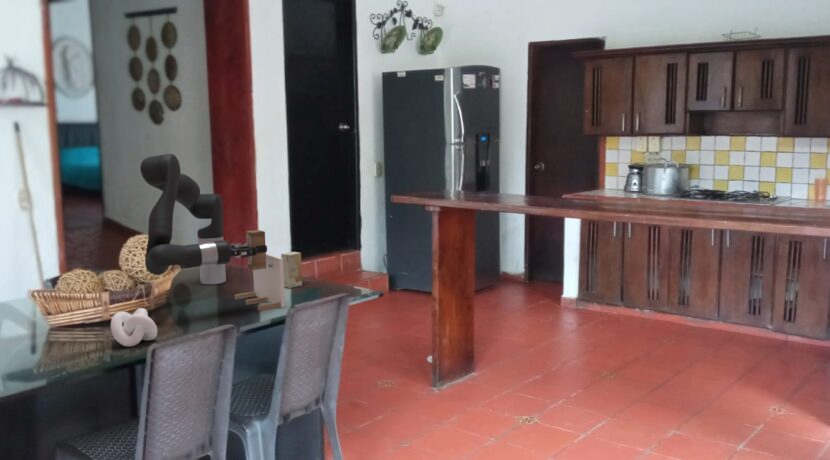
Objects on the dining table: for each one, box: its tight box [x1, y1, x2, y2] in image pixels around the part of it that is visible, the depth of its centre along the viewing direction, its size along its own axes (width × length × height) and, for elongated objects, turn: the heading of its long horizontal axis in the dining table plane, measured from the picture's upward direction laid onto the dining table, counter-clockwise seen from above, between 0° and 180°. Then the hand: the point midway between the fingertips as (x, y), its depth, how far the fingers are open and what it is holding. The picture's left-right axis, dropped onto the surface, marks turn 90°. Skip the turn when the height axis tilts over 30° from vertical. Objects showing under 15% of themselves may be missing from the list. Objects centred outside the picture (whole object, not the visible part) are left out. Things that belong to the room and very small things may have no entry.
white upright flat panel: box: [234, 252, 286, 312], centre depth 255 cm, size 22×9×16 cm, turn 35°
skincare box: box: [280, 251, 303, 289], centre depth 279 cm, size 6×4×12 cm
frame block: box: [245, 229, 267, 271], centre depth 249 cm, size 4×5×12 cm
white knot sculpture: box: [110, 307, 159, 348], centre depth 215 cm, size 11×12×9 cm
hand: (263, 247), depth 250 cm, fingers closed on frame block, 4 cm apart
